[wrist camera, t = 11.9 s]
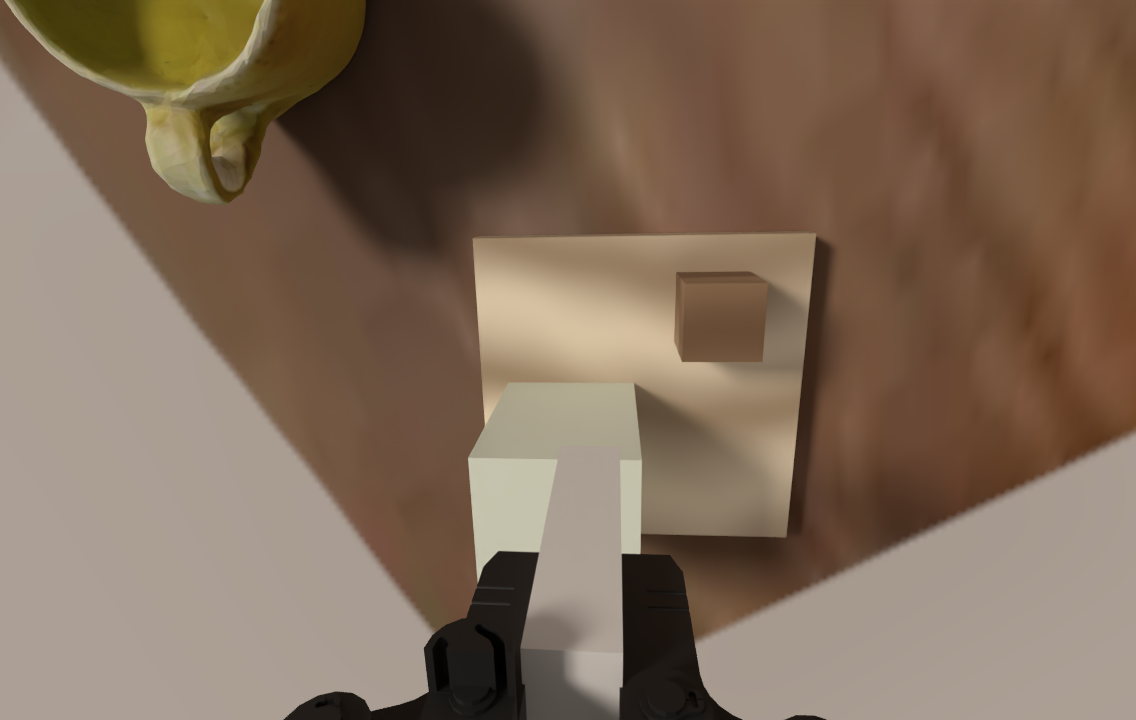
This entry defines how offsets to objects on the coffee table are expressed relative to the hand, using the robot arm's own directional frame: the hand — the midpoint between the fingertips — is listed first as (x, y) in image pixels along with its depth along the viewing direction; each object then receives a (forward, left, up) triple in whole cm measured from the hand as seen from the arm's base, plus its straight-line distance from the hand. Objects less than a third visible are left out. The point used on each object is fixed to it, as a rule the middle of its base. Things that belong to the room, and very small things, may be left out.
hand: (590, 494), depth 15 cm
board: (+1, +2, -12) cm, 13 cm away
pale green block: (+4, -1, -11) cm, 12 cm away
